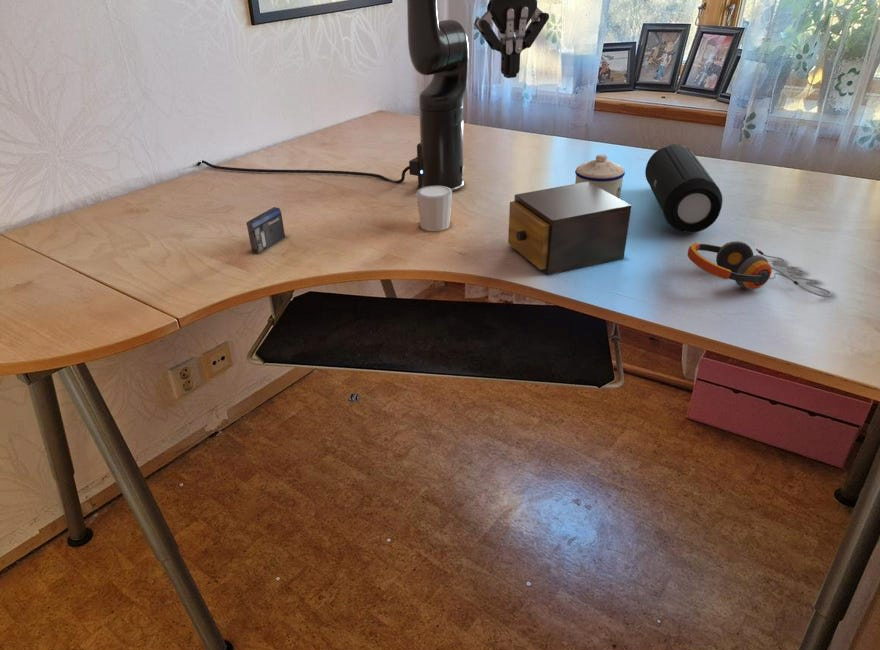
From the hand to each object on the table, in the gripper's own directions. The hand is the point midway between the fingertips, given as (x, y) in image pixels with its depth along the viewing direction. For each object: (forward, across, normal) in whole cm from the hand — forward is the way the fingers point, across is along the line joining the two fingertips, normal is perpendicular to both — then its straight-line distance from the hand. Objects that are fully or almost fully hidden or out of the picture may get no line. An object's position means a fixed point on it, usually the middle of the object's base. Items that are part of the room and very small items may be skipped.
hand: (509, 76), depth 112 cm
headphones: (+27, -25, +36) cm, 52 cm away
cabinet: (+27, -4, +16) cm, 31 cm away
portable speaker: (+27, -33, +8) cm, 44 cm away
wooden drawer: (+26, -2, +15) cm, 30 cm away
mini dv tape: (+27, +44, -11) cm, 53 cm away
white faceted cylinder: (+27, +12, -6) cm, 30 cm away
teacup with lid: (+27, -19, +2) cm, 33 cm away
